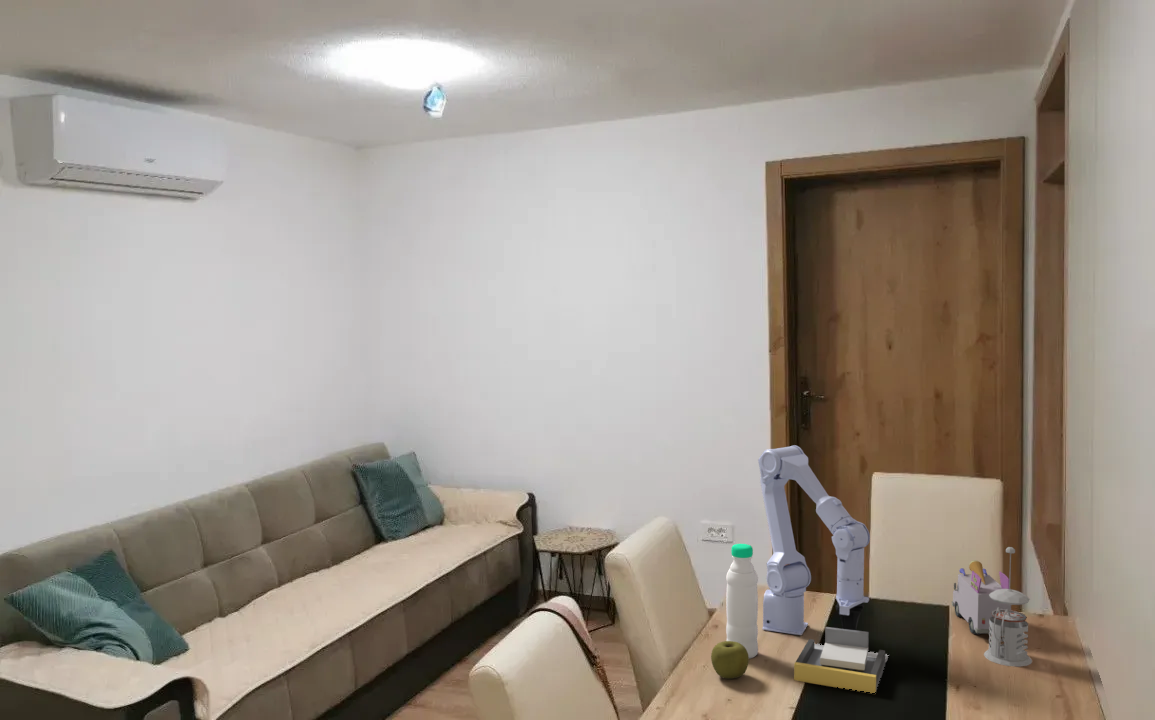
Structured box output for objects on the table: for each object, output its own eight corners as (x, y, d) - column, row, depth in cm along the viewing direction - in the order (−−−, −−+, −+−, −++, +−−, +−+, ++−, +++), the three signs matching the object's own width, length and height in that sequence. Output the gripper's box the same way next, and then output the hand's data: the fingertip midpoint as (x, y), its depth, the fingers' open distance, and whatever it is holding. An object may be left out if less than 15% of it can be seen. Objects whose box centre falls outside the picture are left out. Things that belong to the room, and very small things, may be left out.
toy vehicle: (986, 612, 233) (987, 554, 232) (1015, 642, 214) (1016, 578, 213) (948, 611, 234) (949, 553, 233) (973, 641, 215) (974, 578, 214)
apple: (704, 673, 199) (704, 641, 198) (736, 667, 202) (736, 635, 201) (723, 687, 192) (723, 653, 191) (755, 680, 195) (756, 647, 194)
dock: (794, 683, 195) (794, 664, 194) (815, 646, 215) (815, 628, 214) (875, 697, 188) (875, 677, 187) (889, 657, 208) (889, 639, 207)
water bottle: (761, 650, 211) (761, 543, 209) (753, 662, 204) (753, 551, 202) (730, 646, 214) (730, 539, 212) (722, 657, 207) (722, 547, 205)
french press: (1038, 656, 205) (1041, 546, 204) (1021, 673, 197) (1024, 558, 195) (992, 645, 212) (995, 538, 210) (973, 660, 204) (976, 549, 202)
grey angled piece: (820, 671, 195) (820, 643, 195) (825, 653, 205) (825, 626, 204) (864, 677, 192) (864, 648, 192) (868, 659, 201) (868, 632, 201)
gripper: (863, 589, 199) (862, 650, 200) (873, 570, 212) (872, 627, 213) (830, 584, 202) (829, 645, 204) (842, 566, 215) (841, 623, 217)
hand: (849, 635), depth 209 cm, fingers closed
